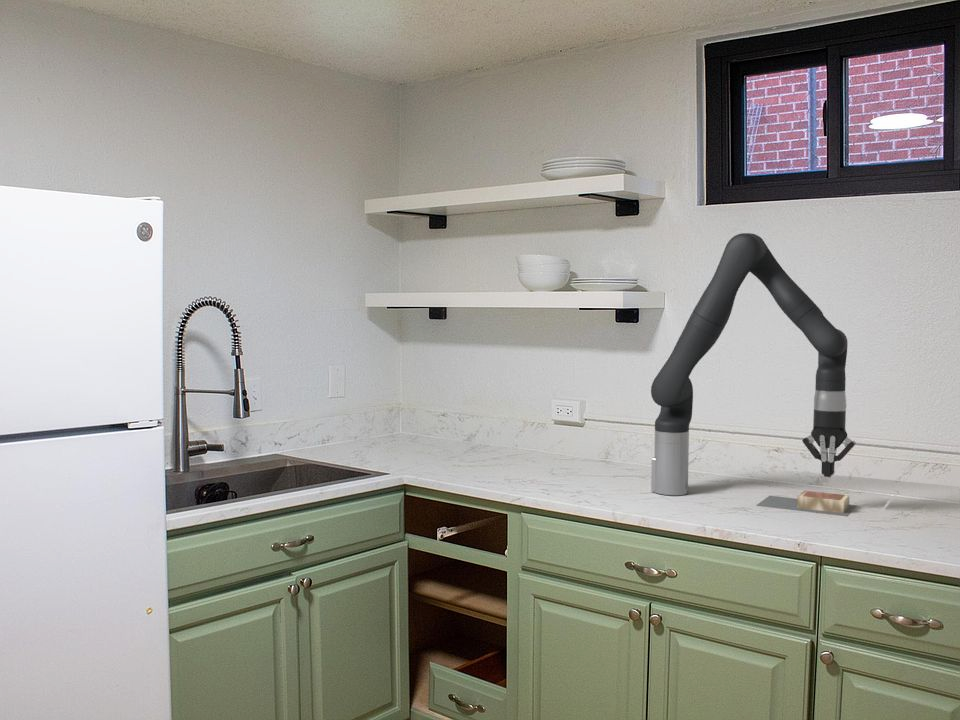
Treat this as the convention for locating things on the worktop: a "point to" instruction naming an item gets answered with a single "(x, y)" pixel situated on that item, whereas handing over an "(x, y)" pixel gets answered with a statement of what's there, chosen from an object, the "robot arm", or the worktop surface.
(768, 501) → the rubber mat
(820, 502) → the cream brown rectangular block
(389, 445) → the worktop surface
